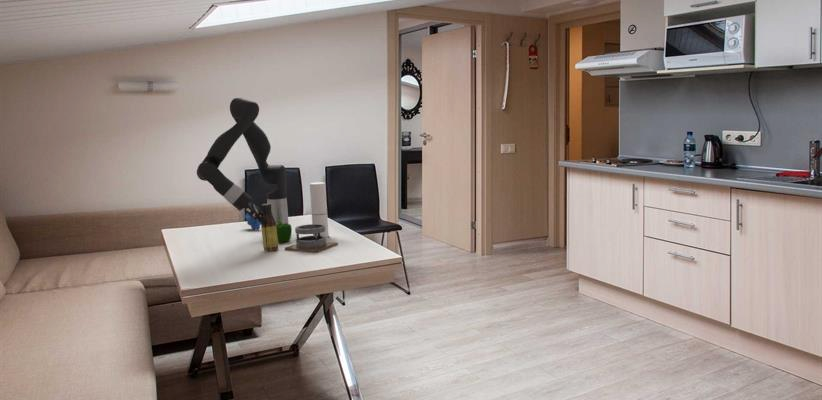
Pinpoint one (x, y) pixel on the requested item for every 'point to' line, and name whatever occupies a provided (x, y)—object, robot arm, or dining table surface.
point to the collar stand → (310, 239)
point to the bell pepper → (283, 231)
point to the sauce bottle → (269, 229)
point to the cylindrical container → (319, 205)
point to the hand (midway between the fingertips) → (267, 222)
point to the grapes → (252, 222)
